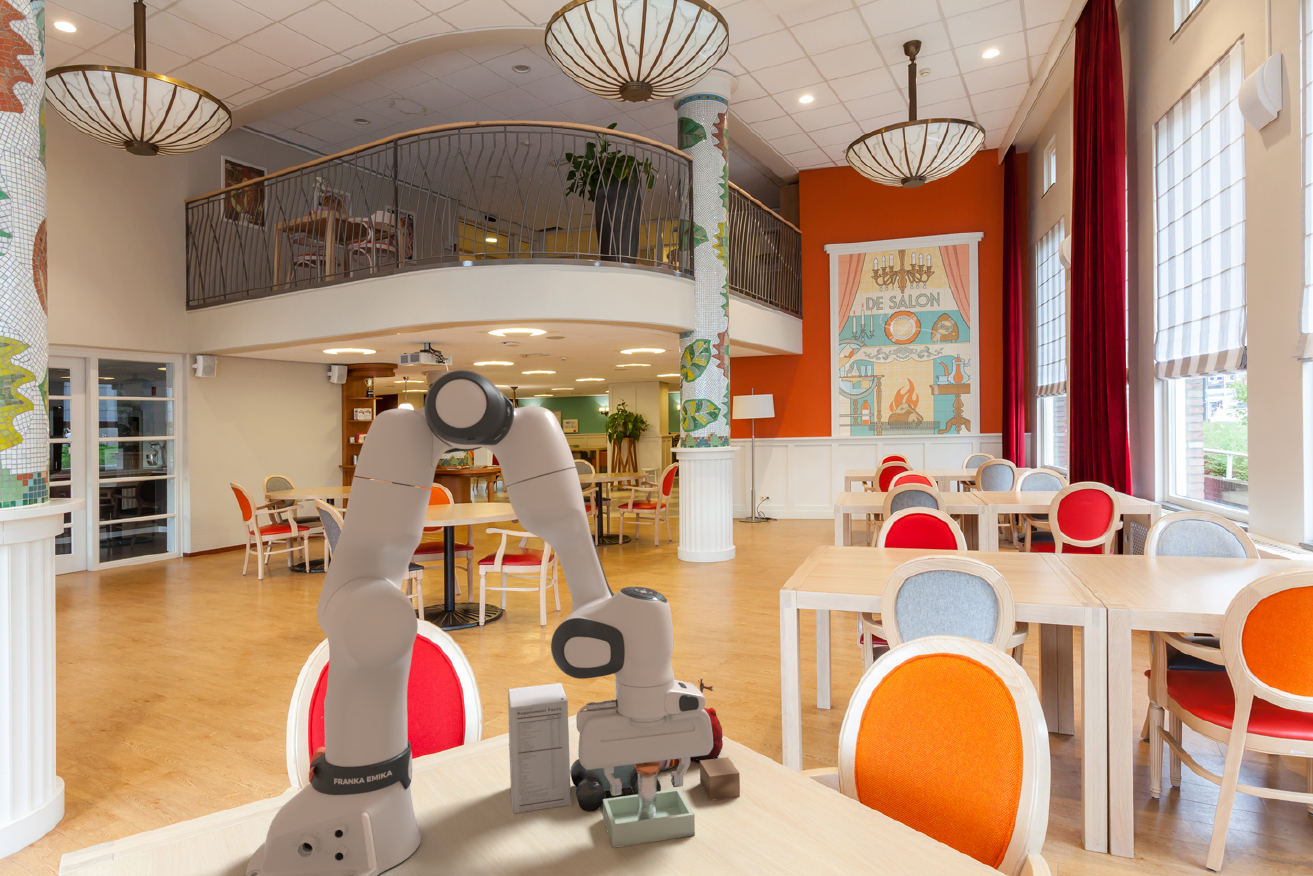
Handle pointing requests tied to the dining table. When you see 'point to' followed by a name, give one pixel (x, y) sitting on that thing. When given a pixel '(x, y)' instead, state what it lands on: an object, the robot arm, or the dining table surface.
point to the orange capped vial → (647, 789)
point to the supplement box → (539, 747)
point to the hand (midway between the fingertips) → (647, 789)
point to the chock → (719, 778)
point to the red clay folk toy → (715, 731)
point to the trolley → (601, 784)
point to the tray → (668, 823)
